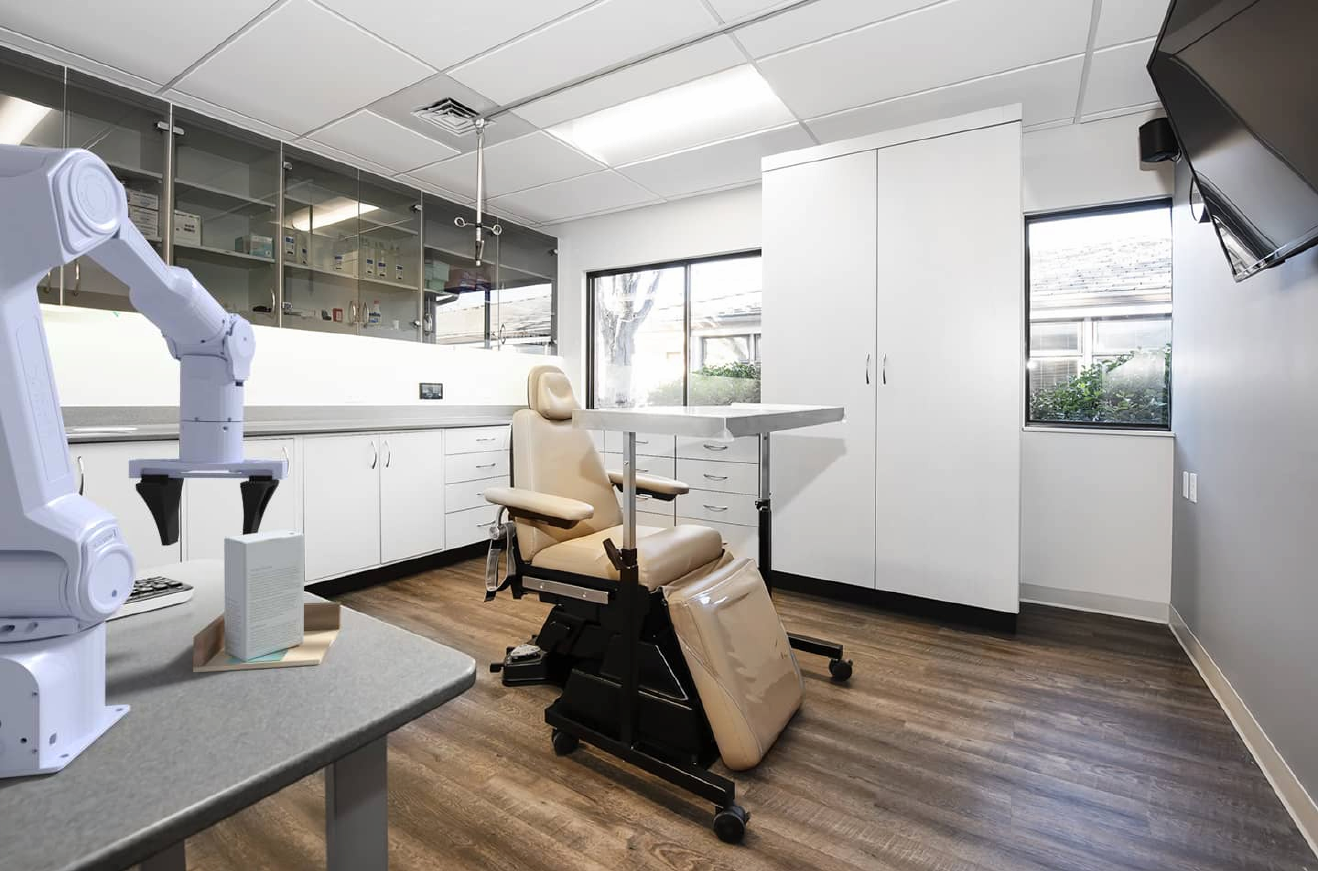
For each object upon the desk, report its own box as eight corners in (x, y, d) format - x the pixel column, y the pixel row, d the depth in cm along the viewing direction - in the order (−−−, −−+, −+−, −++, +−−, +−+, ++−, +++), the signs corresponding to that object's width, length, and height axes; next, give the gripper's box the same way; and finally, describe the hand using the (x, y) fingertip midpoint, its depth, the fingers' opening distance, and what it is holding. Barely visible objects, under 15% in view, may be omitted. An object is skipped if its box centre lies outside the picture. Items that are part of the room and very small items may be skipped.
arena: (319, 664, 63) (320, 630, 63) (193, 672, 60) (193, 636, 60) (340, 631, 72) (340, 601, 72) (231, 637, 69) (232, 606, 69)
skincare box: (282, 635, 69) (284, 528, 68) (304, 644, 67) (306, 533, 66) (221, 652, 63) (222, 536, 63) (242, 662, 61) (244, 542, 61)
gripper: (296, 422, 74) (294, 534, 75) (152, 417, 70) (151, 536, 71) (277, 424, 68) (275, 547, 68) (117, 419, 64) (116, 550, 64)
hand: (210, 543), depth 69 cm, fingers open, 7 cm apart
